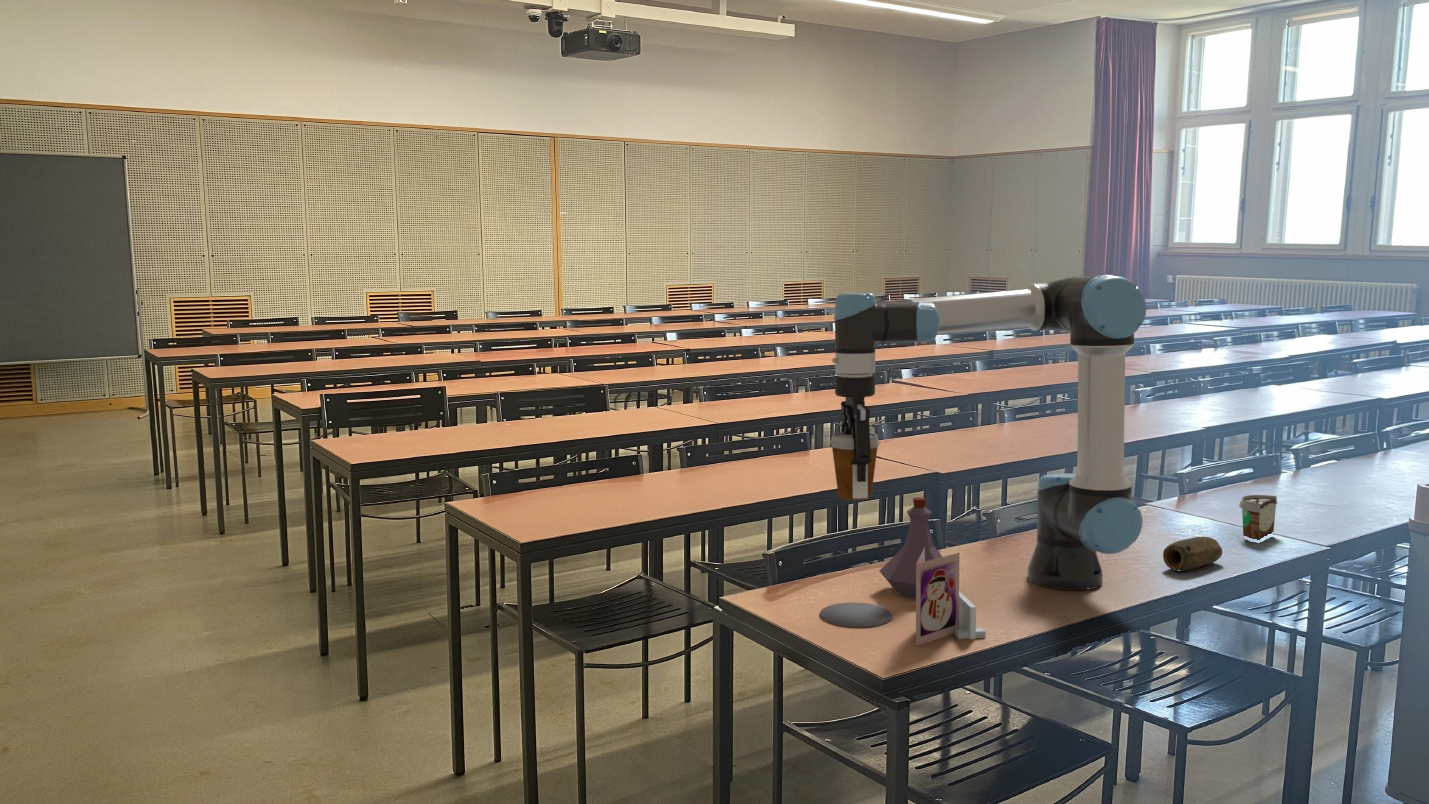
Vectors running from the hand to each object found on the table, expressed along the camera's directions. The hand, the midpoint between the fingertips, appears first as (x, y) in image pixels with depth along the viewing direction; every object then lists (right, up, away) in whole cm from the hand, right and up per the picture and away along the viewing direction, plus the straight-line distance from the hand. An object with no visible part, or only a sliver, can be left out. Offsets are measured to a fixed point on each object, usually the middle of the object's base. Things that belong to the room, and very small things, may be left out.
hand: (855, 492), depth 191 cm
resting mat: (+1, -24, +3) cm, 24 cm away
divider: (+19, -24, -3) cm, 31 cm away
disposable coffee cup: (0, -1, 0) cm, 1 cm away
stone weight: (+79, -19, +30) cm, 87 cm away
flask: (+16, -22, +16) cm, 32 cm away
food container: (+105, -16, +53) cm, 119 cm away
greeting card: (+12, -25, -8) cm, 29 cm away
